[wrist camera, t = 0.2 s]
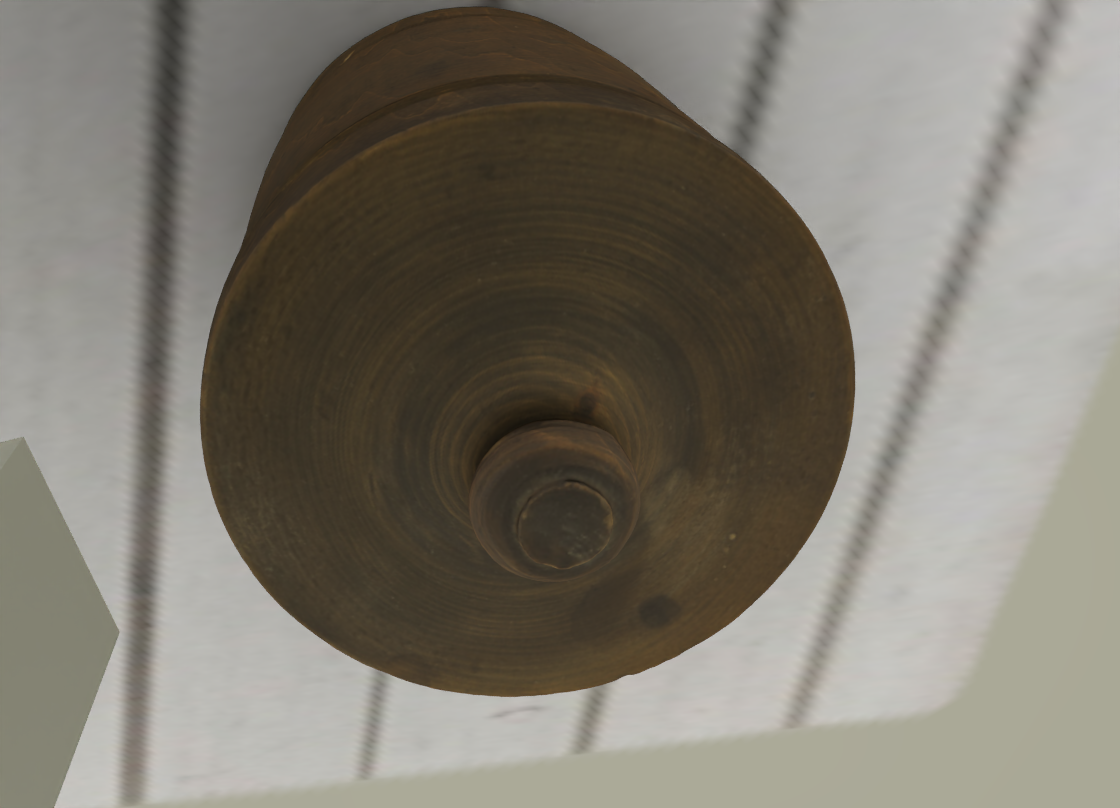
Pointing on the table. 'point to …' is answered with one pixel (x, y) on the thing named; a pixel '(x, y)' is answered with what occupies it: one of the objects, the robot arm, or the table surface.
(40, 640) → the robot arm
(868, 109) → the table surface
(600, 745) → the table surface
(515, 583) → the wooden container
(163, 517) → the table surface
